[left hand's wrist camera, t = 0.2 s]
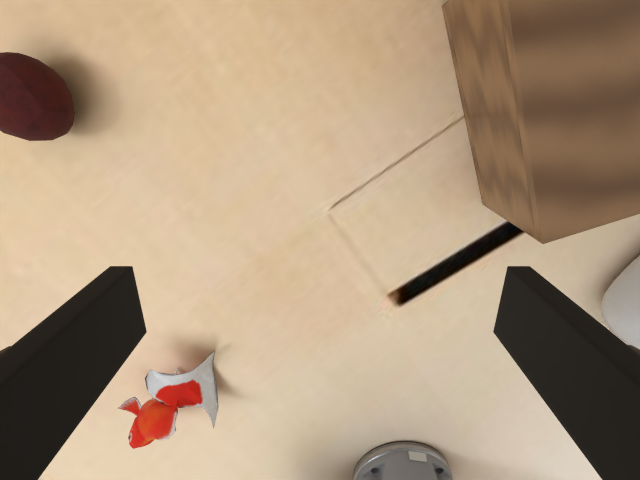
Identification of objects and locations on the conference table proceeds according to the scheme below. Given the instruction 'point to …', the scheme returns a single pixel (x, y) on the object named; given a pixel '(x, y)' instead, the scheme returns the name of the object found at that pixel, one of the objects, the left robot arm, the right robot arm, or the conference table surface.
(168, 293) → the conference table surface
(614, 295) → the projector
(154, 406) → the fish
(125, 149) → the conference table surface
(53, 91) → the dark maroon ball
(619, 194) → the cabinet
